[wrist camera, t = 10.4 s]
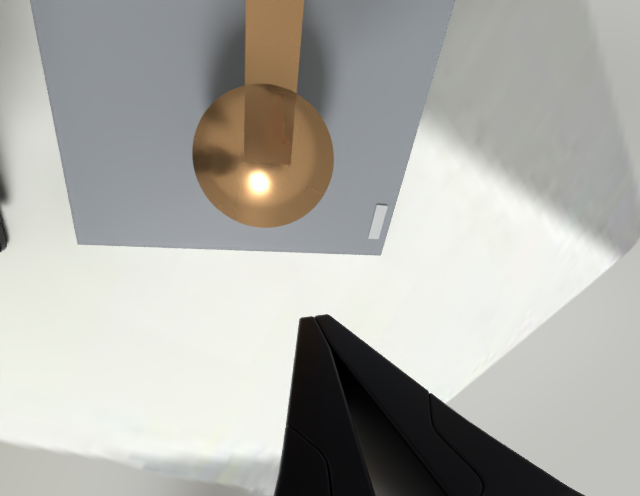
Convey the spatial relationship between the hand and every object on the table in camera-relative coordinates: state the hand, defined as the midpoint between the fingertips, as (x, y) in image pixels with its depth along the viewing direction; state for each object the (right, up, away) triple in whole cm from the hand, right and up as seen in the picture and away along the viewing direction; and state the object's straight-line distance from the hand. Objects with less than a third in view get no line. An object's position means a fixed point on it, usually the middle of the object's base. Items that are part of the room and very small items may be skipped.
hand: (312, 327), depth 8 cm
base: (-3, +11, +7) cm, 13 cm away
